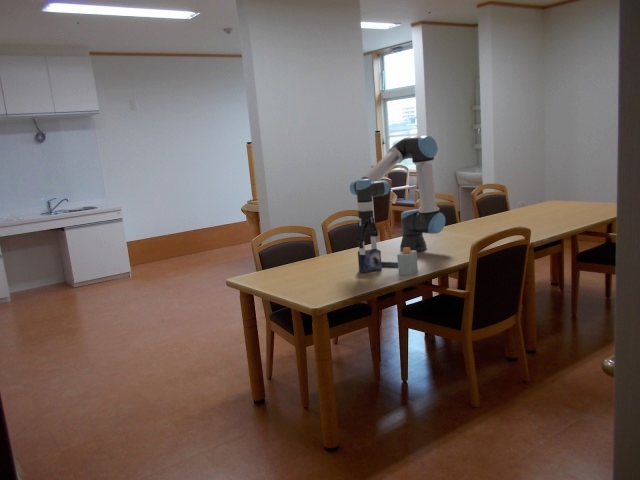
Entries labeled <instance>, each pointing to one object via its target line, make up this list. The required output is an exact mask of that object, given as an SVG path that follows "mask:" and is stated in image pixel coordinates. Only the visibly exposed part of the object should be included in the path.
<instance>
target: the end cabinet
mask: <svg viewBox="0 0 640 480" xmlns="http://www.w3.org/2000/svg"><path fill="white" fill-rule="evenodd" d="M396 257H397V258H396V259H397V262H398V267H397V270H398V275H399V276H412V275H413V274H414V273H416V272H418V267H419V266H418V252H416V250H411V253H410V254H403V251H401V252H400V253H397V255H396Z"/></svg>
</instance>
